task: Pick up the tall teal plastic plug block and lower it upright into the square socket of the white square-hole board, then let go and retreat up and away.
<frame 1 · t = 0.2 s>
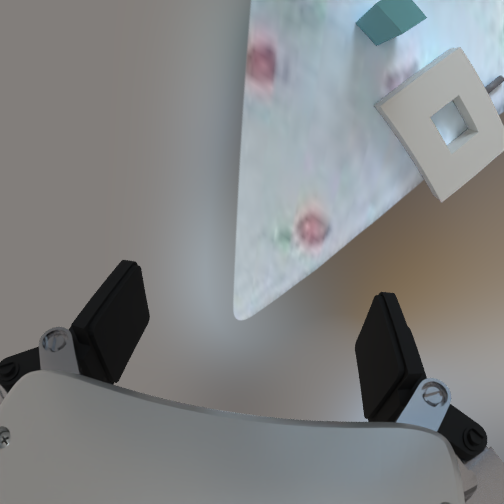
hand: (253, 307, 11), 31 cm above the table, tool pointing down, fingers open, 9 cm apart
plug: (376, 27, 27), on the table
white square-hole board: (445, 121, 32), on the table
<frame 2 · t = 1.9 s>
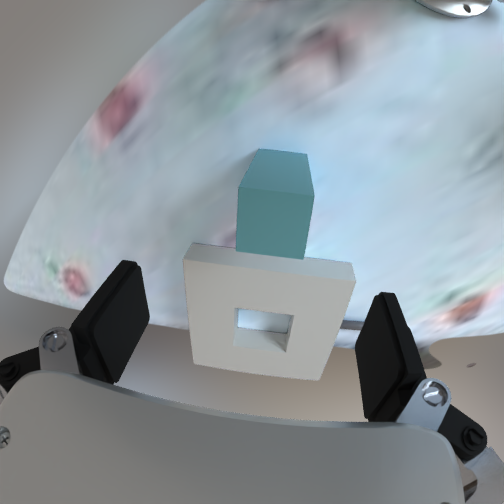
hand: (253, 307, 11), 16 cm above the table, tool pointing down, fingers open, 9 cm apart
plug: (280, 173, 25), on the table
white square-hole board: (264, 312, 33), on the table
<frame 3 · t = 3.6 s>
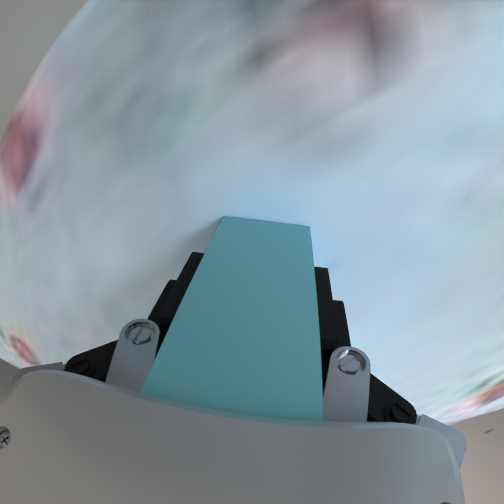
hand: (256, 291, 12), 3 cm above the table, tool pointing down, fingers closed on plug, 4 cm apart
plug: (262, 258, 15), on the table, touching gripper
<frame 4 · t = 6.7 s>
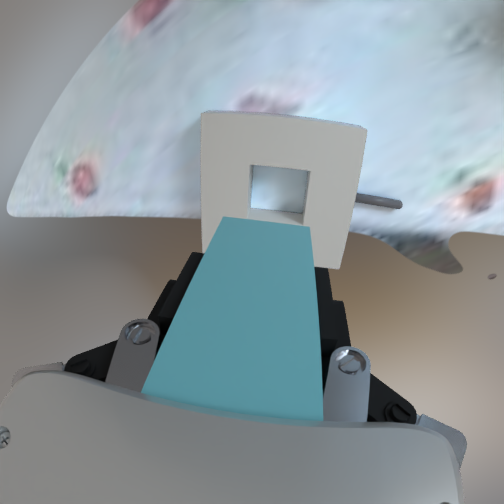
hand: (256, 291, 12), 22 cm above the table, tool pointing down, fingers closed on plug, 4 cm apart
plug: (262, 258, 15), point 19 cm above the table, touching gripper
white square-hole board: (278, 186, 32), on the table
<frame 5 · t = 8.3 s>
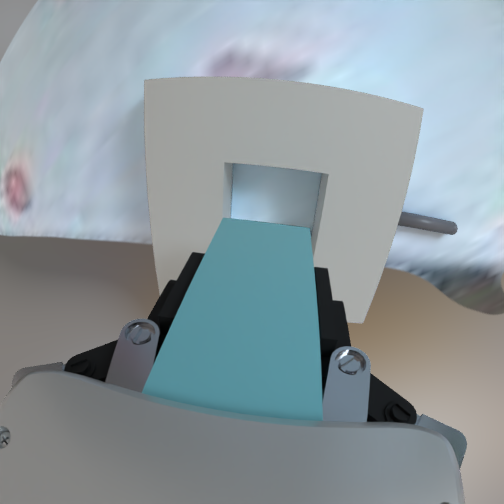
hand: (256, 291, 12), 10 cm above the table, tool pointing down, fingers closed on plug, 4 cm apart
plug: (262, 259, 15), point 7 cm above the table, touching gripper
white square-hole board: (274, 197, 20), on the table
when the fingers open (4 cm above the table, at t = 9.6 s): plug drops 2 cm, resting in white square-hole board.
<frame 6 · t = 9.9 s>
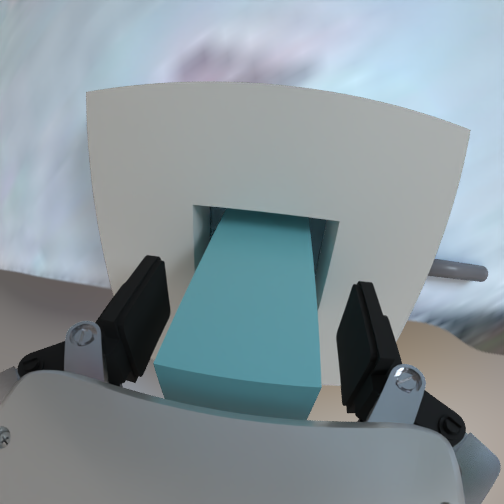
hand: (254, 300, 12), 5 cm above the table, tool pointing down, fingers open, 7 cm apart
plug: (265, 242, 16), resting in white square-hole board
white square-hole board: (265, 242, 16), on the table
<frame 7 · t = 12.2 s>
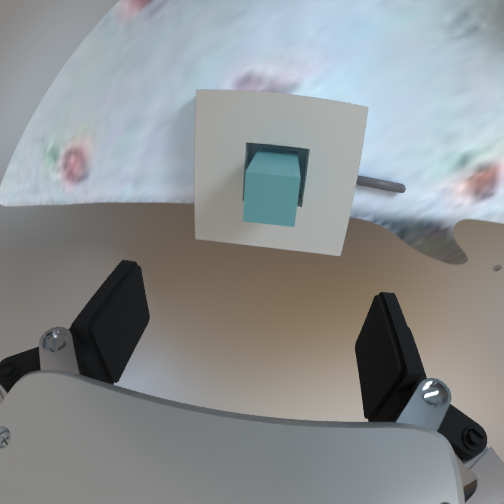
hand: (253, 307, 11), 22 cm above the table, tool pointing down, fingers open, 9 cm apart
plug: (276, 167, 31), resting in white square-hole board
white square-hole board: (276, 167, 31), on the table
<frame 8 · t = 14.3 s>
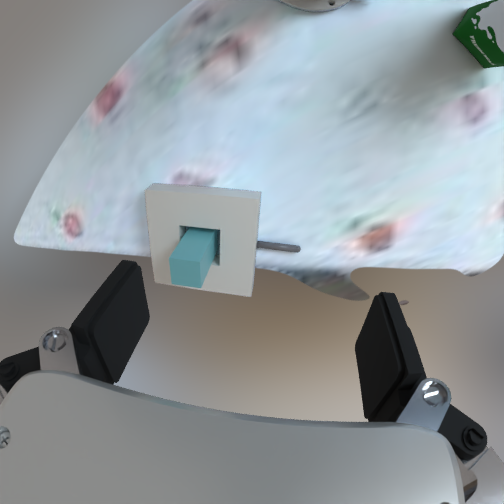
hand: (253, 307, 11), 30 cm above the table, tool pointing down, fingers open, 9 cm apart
milk carton: (476, 37, 23), on the table
plug: (204, 236, 45), resting in white square-hole board
white square-hole board: (204, 236, 45), on the table
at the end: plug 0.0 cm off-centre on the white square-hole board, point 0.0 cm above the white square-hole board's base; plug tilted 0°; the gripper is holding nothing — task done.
